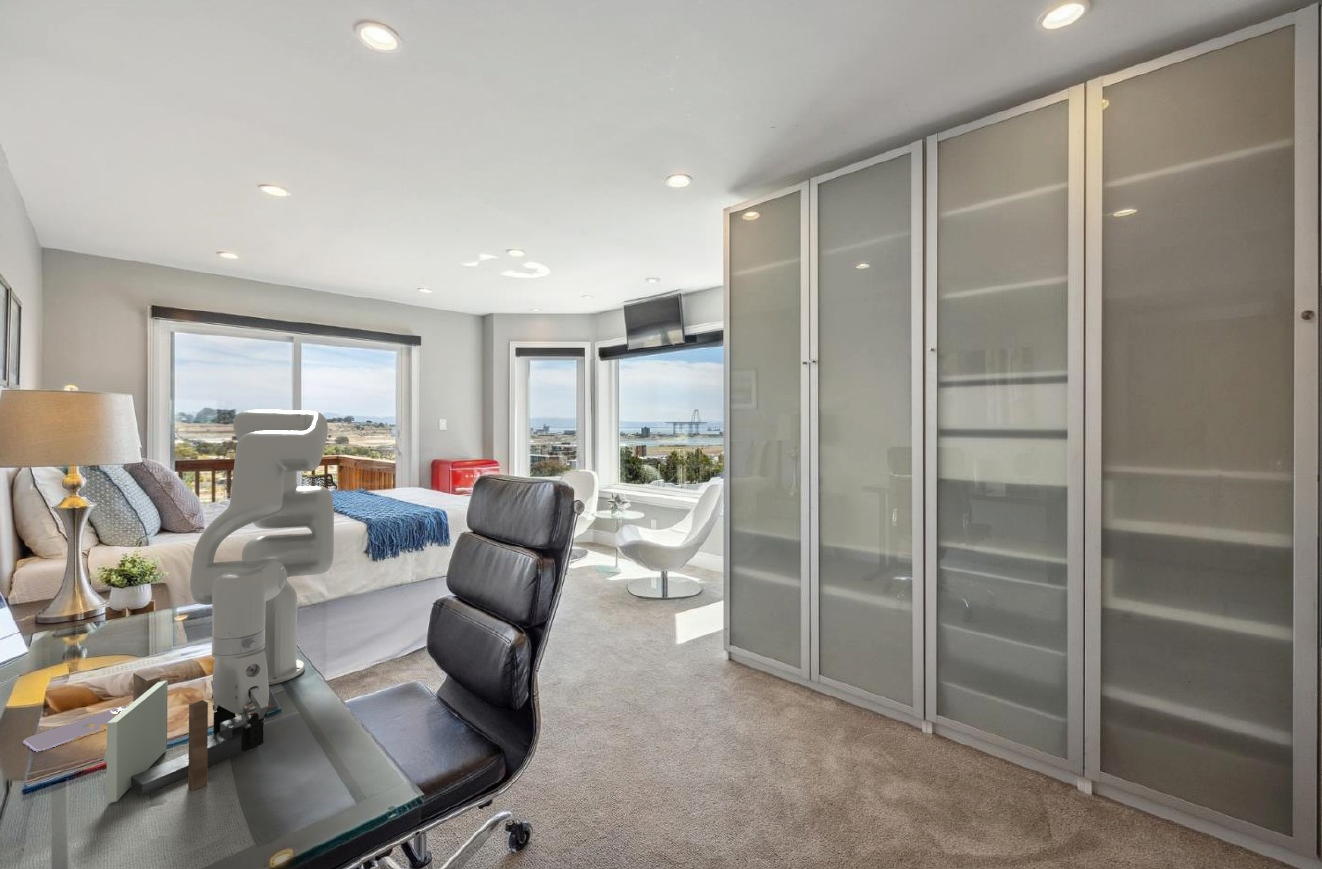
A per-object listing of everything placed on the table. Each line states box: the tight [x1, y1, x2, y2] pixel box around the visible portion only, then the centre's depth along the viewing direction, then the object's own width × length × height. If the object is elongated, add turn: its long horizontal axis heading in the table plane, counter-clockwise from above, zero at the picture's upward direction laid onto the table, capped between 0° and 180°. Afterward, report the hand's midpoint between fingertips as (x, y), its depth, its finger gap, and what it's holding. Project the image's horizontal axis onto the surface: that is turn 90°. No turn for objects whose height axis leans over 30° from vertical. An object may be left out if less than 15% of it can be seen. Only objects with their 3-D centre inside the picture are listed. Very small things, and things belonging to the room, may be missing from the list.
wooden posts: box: [132, 668, 209, 791], centre depth 96 cm, size 23×2×13 cm, turn 60°
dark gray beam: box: [130, 714, 259, 798], centre depth 96 cm, size 16×4×5 cm, turn 151°
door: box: [103, 680, 169, 804], centre depth 93 cm, size 15×2×12 cm, turn 17°
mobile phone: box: [22, 705, 128, 753], centre depth 107 cm, size 8×1×15 cm
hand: (238, 739), depth 101 cm, fingers open, 9 cm apart
